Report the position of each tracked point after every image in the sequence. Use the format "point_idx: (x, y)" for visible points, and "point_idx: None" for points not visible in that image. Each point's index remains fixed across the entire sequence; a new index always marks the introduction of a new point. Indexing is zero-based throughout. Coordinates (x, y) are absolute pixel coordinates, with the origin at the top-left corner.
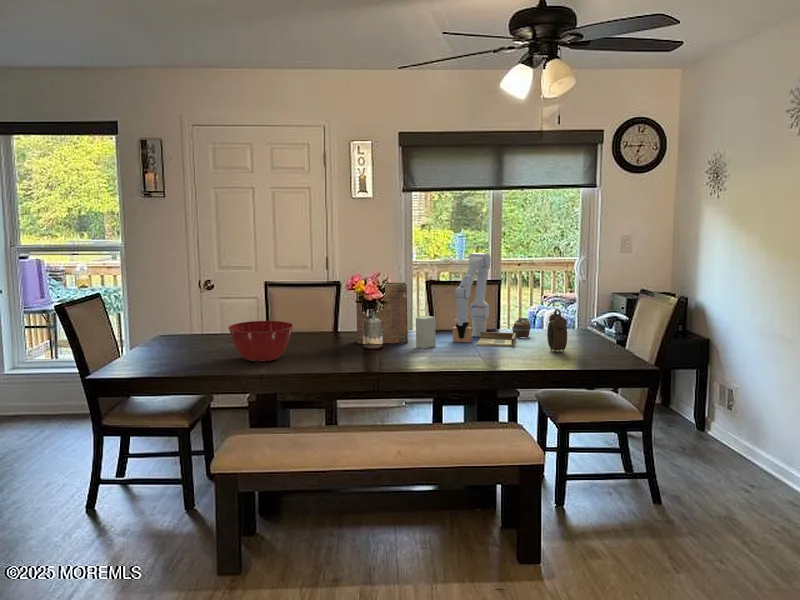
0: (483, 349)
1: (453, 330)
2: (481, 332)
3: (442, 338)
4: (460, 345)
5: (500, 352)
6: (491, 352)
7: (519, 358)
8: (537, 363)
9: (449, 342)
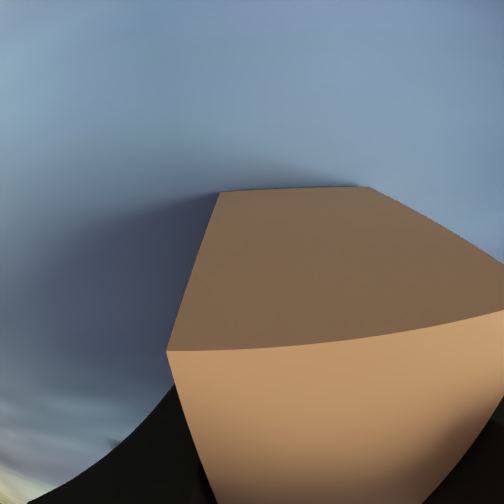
0: (44, 454)
1: (191, 308)
2: None
3: (456, 13)
4: (50, 330)
5: (45, 487)
6: (19, 464)
7: (19, 495)
8: (10, 501)
9: (173, 144)
